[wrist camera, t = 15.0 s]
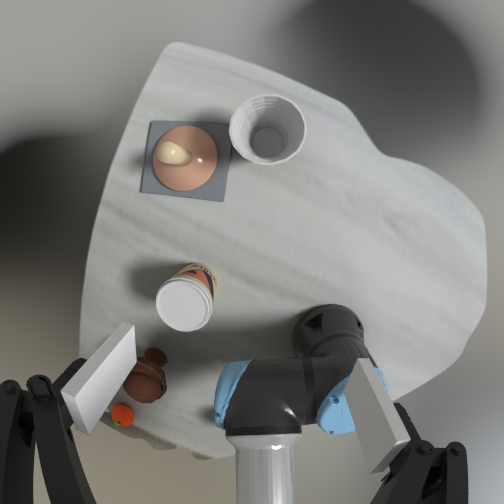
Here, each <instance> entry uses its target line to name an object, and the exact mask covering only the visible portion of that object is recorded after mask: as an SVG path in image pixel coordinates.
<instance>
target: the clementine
mask: <svg viewBox="0 0 504 504" xmlns="http://www.w3.org/2000/svg"><path fill="white" fill-rule="evenodd" d="M111 417H112V420H113V421H114V422H115V423H114V424H115V425H116V426H123V427H126V426H129V425H131V424H132V422H133V420H134V414H133V412H132V410H131V409H130V408H129V407H128V406H126V405H122V404H120V405H116V406H114V407H113V409H112V411H111Z"/></svg>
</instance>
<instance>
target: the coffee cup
mask: <svg viewBox="0 0 504 504" xmlns="http://www.w3.org/2000/svg"><path fill="white" fill-rule="evenodd" d="M216 290H217V278H216V275H215V274H214V272H213V271H212V270H211V269H210V268H209V267H208V266H206V265H204V264H200V263H193V264H190V265H187V266H186V267H184V268H183V269H182V270H180V271H179V272H178V273H176V274H175V275H174V276H173V277H171V278H170V279H169V280H167V281H166V282H164V283H163V284H162V285H161V286H160V288H159V289H158V291H157V294H156V308H157V312H158V314H159V316H160V317H161V319H162V320H163V321H164V322H165V323H166V324H167V325H168V326H170V327H171V328H173V329H176V330H179V331H184V332H189V331H194V330H197V329H199V328H201V327H203V326H204V325H205V324H206V323H207V322H208V320H209V318H210V316H211V313H212V306H213V302H214V298H215V294H216Z"/></svg>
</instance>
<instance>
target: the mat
mask: <svg viewBox="0 0 504 504" xmlns="http://www.w3.org/2000/svg"><path fill="white" fill-rule="evenodd" d="M180 126H194V127H198V128H200V129H202V130H204V131H205V132H206V133H208V134H209V135H210V137H211V138H212V139H213V141H214V142H215V145H216V147H217V152H218V161H217V166H216V169H215V171H214V173H213V175H212V176H211V178H210V179H209V180H208V181H207V182H206V183H205V184H203V185H202V186H200V187H198V188H196V189H193V190H188V191H178V190H174V189H171V188H169V187H167V186H166V185H164V184H163V183H162V182H161V181H160V180H159V178H158V177H157V175H156V173H155V170H154V166H153V155H154V151H155V148H156V146H157V144H158V142H159V140H160V139H161V138H162V137H163V136H164V135H165V134H166V133H167V132H169V131H170V130H172V129H174V128H176V127H180ZM229 127H230V125H224V124H213V123H200V122H183V121H152V123H151V129H150V134H149V140H148V146H147V152H146V159H145V166H144V174H143V182H142V191H141V192H146V193H156V194H165V195H174V196H182V197H191V198H199V199H206V200H214V201H221V202H223V201H224V194H225V187H226V181H227V174H228V167H229V161H230V154H231V148H232V141H231V138H230V134H229Z"/></svg>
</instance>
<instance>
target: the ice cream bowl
mask: <svg viewBox="0 0 504 504" xmlns="http://www.w3.org/2000/svg"><path fill="white" fill-rule="evenodd" d="M145 357H146V358H144V357H136V358H137V362H136V364H135V365H134V367H133V368H132V370H131V371H130V373H129V374H128V376H127V377H126V379H125V380H124V382H123V387H124V390H125V391H126V392H127V394H128V395H129V396H131V397H132V398H133V399H135V400H136V401H138V402H141V403H152V402H154V401H155V400H156V399H160V398H161V397H162V396H163V394H164V393H165V392H166V389H167V385H166V380H165V374H164V372H163V370H162V369H161V368H160V367H161V366H163V365H164V364H165V363H166V362H167V361H166V356H165V354H164V353H163V352H162V351H161V350H159V349H156V348H148V349H147V350H146V352H145Z"/></svg>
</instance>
